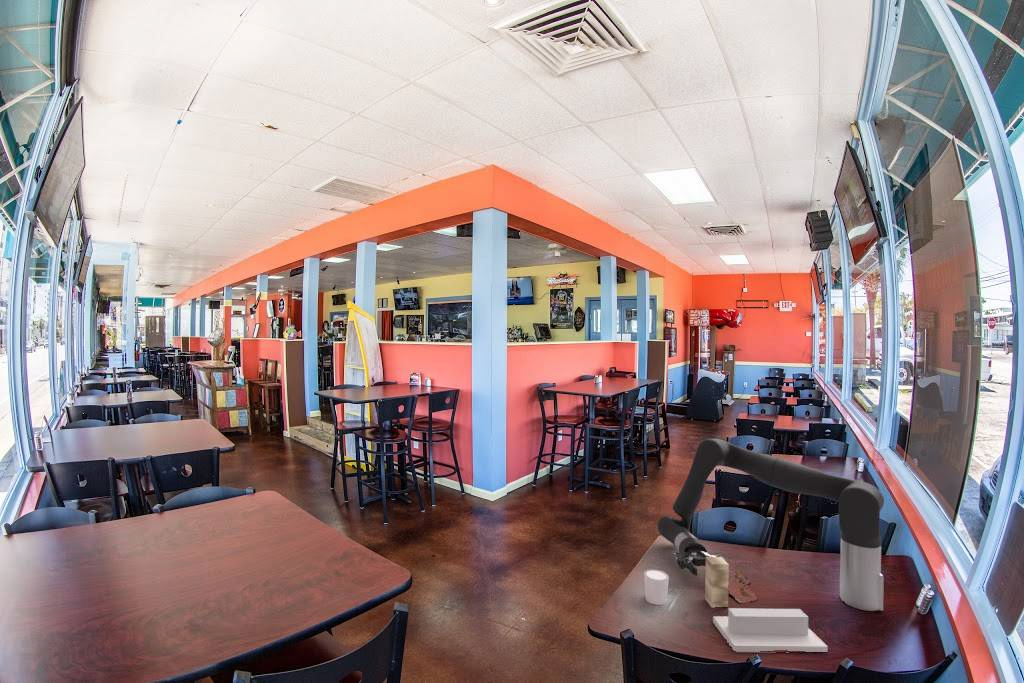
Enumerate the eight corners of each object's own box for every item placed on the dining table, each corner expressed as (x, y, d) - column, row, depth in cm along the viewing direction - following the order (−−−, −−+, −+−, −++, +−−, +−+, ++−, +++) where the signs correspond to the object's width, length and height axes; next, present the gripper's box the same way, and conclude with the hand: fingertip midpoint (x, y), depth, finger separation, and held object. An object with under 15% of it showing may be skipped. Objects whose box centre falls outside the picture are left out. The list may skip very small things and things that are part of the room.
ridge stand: (797, 622, 126) (797, 599, 126) (827, 652, 114) (828, 627, 114) (713, 622, 126) (713, 599, 126) (734, 652, 114) (734, 626, 114)
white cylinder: (670, 596, 138) (670, 572, 138) (667, 608, 132) (667, 583, 132) (645, 591, 141) (645, 567, 141) (641, 602, 135) (641, 577, 135)
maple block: (720, 599, 137) (721, 556, 137) (728, 607, 133) (728, 564, 132) (705, 598, 137) (705, 556, 137) (711, 607, 132) (712, 564, 132)
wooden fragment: (762, 607, 133) (762, 604, 133) (720, 602, 136) (720, 598, 136) (741, 565, 158) (741, 562, 158) (705, 561, 161) (705, 558, 161)
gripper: (668, 536, 155) (686, 559, 139) (712, 536, 155) (735, 559, 139) (667, 559, 155) (686, 585, 139) (712, 560, 155) (735, 585, 139)
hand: (710, 572), depth 139 cm, fingers open, 8 cm apart
